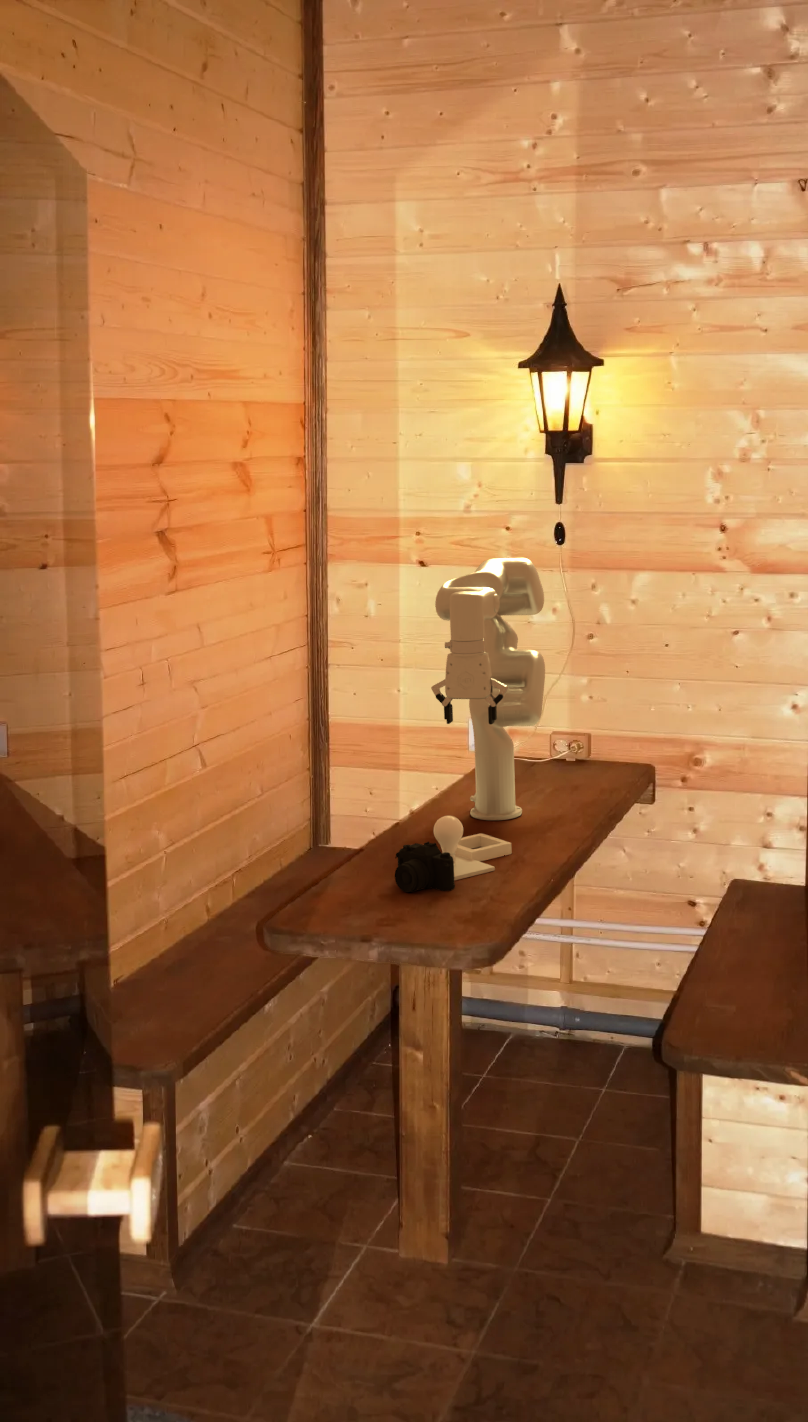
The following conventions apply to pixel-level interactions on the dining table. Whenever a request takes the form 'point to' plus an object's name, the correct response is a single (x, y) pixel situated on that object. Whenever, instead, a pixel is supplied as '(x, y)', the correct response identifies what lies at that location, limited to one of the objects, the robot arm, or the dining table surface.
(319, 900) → the dining table surface
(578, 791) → the dining table surface
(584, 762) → the dining table surface
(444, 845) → the lightbulb
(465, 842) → the socket collar
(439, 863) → the film camera
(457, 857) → the felt mat
